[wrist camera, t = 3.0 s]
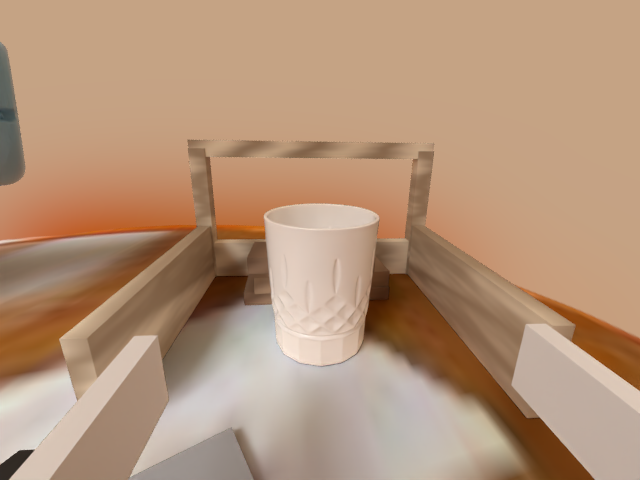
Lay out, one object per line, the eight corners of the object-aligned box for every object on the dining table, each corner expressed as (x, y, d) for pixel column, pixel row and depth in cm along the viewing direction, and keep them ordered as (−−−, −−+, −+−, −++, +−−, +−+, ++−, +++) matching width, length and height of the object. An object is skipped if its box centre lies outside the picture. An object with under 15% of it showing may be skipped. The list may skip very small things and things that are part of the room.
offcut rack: (84, 439, 15) (-7, 132, 11) (206, 271, 36) (192, 139, 31) (550, 417, 17) (637, 142, 13) (414, 268, 37) (428, 143, 33)
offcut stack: (244, 309, 28) (241, 262, 27) (251, 282, 34) (248, 241, 32) (389, 303, 30) (393, 258, 28) (372, 278, 35) (375, 239, 34)
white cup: (275, 311, 28) (271, 202, 25) (361, 311, 28) (368, 203, 25) (261, 374, 20) (253, 228, 17) (379, 373, 20) (392, 229, 17)
